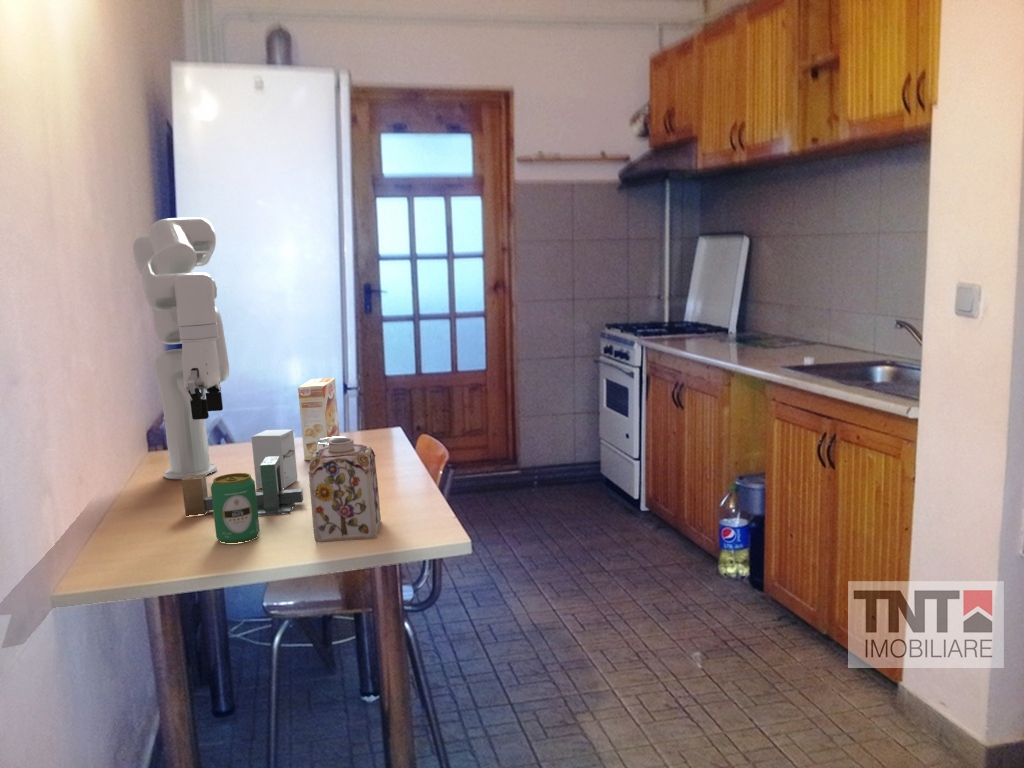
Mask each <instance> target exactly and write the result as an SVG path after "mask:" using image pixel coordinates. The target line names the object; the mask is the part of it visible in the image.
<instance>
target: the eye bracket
mask: <svg viewBox="0 0 1024 768" xmlns="http://www.w3.org/2000/svg"><path fill="white" fill-rule="evenodd" d="M260 470H261V480H262V492H263V499H264V506H257V509H258V515H266V516H274V515H273V514H277V515H283V514H282V513H288V514H291V513H290V512H292V510H293V508H292V507H294V506H295V503H289V504H280V499H279V490H284V489H283V484H282V474H281V464H280V456H273V457H265V459H264V460H263V462H262V463H261V465H260ZM293 505H294V506H293Z"/></svg>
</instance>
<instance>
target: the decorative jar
mask: <svg viewBox="0 0 1024 768" xmlns="http://www.w3.org/2000/svg"><path fill="white" fill-rule="evenodd" d="M309 461H310V463H309V466H308V467H309V468H308V469H309V470H308V473H307V474H308V478H309V479H308V480H309V492H310V493H309V494H310V503H311V505H310V506H311V518H312V528H313V538H314V541H315V542H316V543H317V542H321V543H331V542H341V541H342V542H343V541H345V542H346V541H355V540H356V541H357V540H367V539H376V538H377V537H378V532H379V529H380V526H381V521H382V518H381V508H380V504H381V503H380V495H379V493H380V492H379V484H378V483H379V482H378V475H377V466H376V454H375V451H374V450H373V448H372V447H371V446H368V445H365V444H358V443H357V444H355V443H354V439H353V438H350V437H346V438H338V439H332V440H330V441H329V447H327V448H323V449H320V450H317V451H314V453H313V454H312V455H311V460H309Z"/></svg>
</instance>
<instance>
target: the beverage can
mask: <svg viewBox="0 0 1024 768" xmlns="http://www.w3.org/2000/svg"><path fill="white" fill-rule="evenodd" d="M256 490H257V489H256V480H254V479H253V477H251V474H249V473H247V472H246V473H245V472H237V473H235V472H234V473H228V474H223V475H220V476H217V477H215V478H213V482H212V483H211V486H210V492H211V493H210V494H211V496H212V503H213V510H212V511H213V519H214V521H213V522H214V528H215V536H216V537H215V538H216V539H217V540H218V541H221V542H225V543H238V542H245V541H249V540H252V539H254V538H256V537H257V535H259V533H260V531H261V529H260V521H259V520H260V519H259V516H258V509H257V500H256V492H257V491H256ZM257 538H258V537H257ZM257 538H256V539H257ZM254 540H255V539H254ZM252 541H253V540H252Z"/></svg>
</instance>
